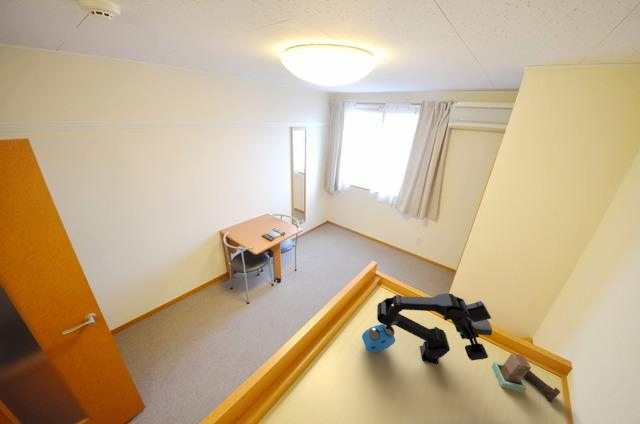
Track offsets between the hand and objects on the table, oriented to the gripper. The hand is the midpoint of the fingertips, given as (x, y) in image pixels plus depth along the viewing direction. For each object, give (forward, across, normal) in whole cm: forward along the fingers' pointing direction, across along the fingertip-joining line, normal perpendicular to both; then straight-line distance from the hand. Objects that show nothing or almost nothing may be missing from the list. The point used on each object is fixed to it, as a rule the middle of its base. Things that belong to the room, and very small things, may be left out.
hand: (477, 347), depth 90 cm
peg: (+19, -2, -3) cm, 19 cm away
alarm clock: (-16, -2, +38) cm, 41 cm away
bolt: (+25, 0, -10) cm, 27 cm away
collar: (+19, -2, -3) cm, 19 cm away
